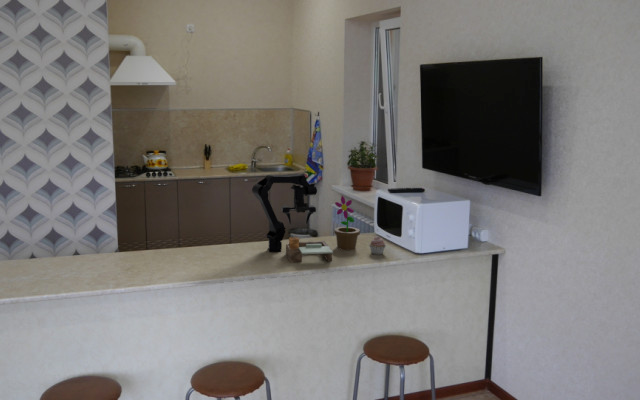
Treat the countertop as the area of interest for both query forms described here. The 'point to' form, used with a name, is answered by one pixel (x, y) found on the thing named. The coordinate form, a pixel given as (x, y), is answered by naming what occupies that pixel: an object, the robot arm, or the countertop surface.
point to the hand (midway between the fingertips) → (298, 224)
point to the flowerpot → (346, 228)
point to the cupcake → (377, 246)
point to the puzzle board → (296, 255)
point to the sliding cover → (315, 249)
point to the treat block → (293, 242)
